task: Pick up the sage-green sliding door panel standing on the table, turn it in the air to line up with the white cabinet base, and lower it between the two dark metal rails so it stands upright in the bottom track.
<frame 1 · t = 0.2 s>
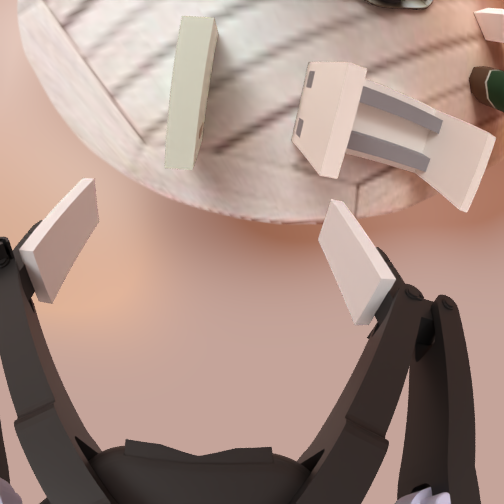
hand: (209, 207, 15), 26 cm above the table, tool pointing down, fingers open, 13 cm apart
door panel: (198, 85, 33), on the table
cabinet base: (373, 121, 37), on the table
milk: (485, 23, 23), on the table
beer bottle: (479, 83, 31), on the table
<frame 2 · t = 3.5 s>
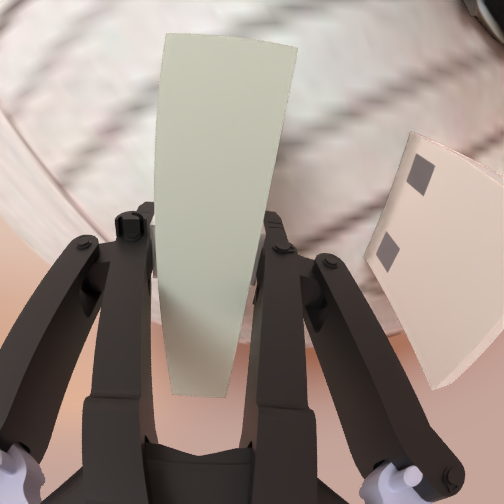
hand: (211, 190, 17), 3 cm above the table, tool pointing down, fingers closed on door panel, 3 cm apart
door panel: (213, 171, 19), on the table, touching gripper
cabinet base: (470, 219, 23), on the table
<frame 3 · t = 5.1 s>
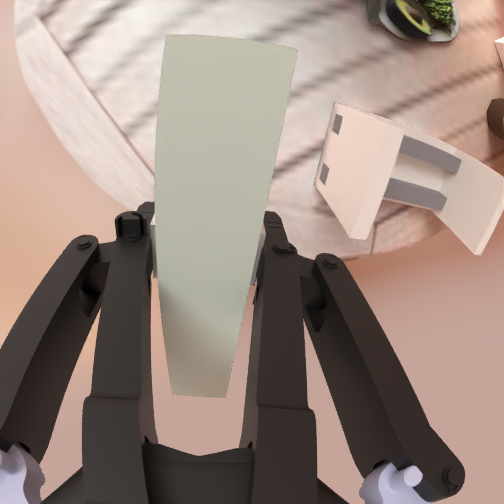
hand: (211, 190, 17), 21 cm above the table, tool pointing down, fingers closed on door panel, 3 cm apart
door panel: (213, 172, 19), point 17 cm above the table, touching gripper
cabinet base: (395, 161, 37), on the table
beer bottle: (496, 115, 32), on the table
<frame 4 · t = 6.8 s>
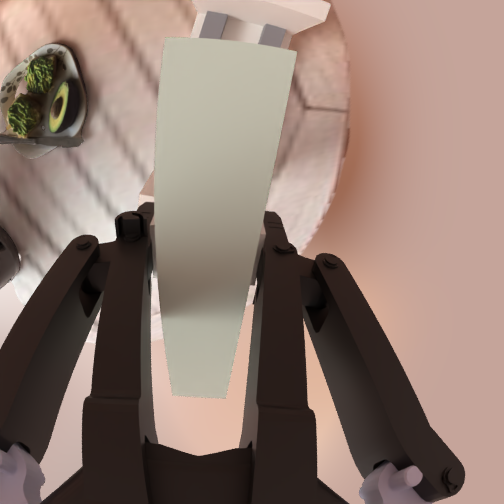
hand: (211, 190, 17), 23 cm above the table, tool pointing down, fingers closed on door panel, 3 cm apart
door panel: (213, 173, 19), point 20 cm above the table, touching gripper
salad plate: (46, 101, 29), on the table
cabinet base: (224, 91, 33), on the table
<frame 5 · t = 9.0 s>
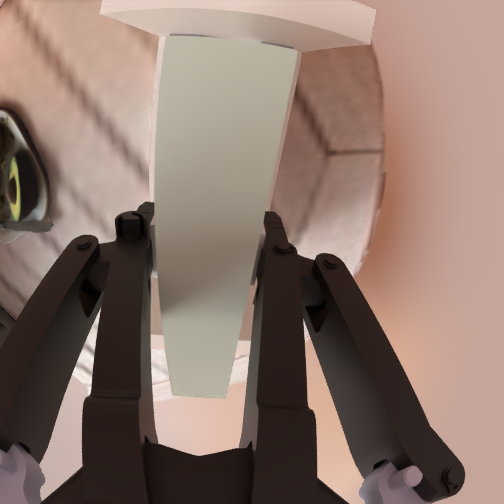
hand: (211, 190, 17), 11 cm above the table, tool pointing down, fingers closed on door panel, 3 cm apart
door panel: (213, 172, 19), point 8 cm above the table, touching gripper
salad plate: (4, 176, 24), on the table
cabinet base: (215, 144, 25), on the table
when the fingers open (6 cm above the table, at t = 10.5 s): door panel drops 1 cm, resting on cabinet base.
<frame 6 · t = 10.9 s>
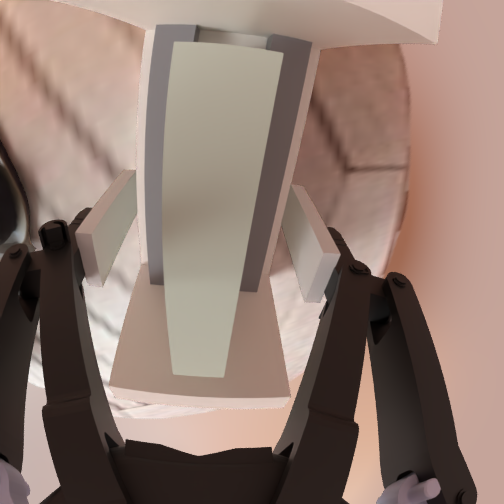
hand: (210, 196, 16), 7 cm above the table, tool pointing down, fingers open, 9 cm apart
door panel: (213, 166, 20), point 1 cm above the table, touching cabinet base
cabinet base: (215, 159, 21), on the table
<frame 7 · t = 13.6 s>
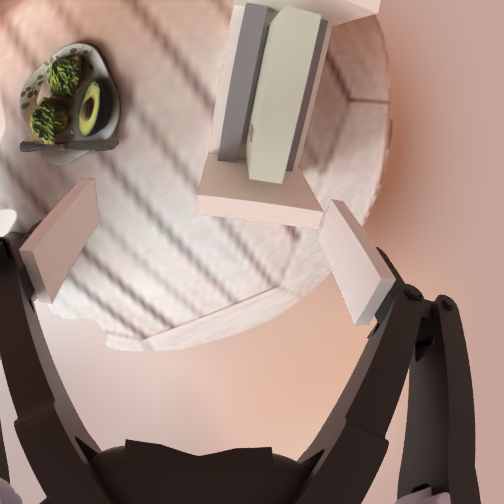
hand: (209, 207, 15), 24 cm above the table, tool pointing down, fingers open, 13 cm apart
door panel: (268, 86, 30), point 1 cm above the table, touching cabinet base
salad plate: (72, 104, 30), on the table
cabinet base: (267, 85, 31), on the table
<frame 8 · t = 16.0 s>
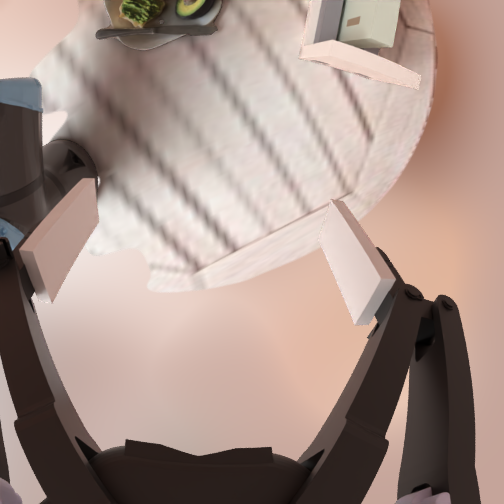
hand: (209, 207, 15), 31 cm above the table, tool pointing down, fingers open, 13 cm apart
door panel: (351, 3, 27), point 1 cm above the table, touching cabinet base
cabinet base: (348, 4, 29), on the table
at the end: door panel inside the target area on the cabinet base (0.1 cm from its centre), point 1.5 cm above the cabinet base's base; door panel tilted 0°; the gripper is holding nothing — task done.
